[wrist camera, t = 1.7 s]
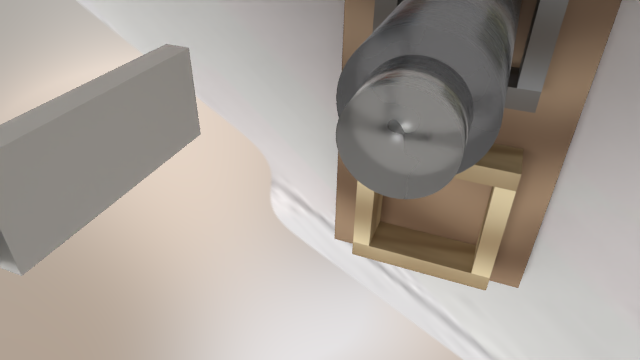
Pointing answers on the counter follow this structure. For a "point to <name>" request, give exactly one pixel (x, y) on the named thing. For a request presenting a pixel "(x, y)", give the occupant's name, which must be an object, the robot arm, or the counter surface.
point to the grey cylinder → (426, 94)
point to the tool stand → (497, 164)
